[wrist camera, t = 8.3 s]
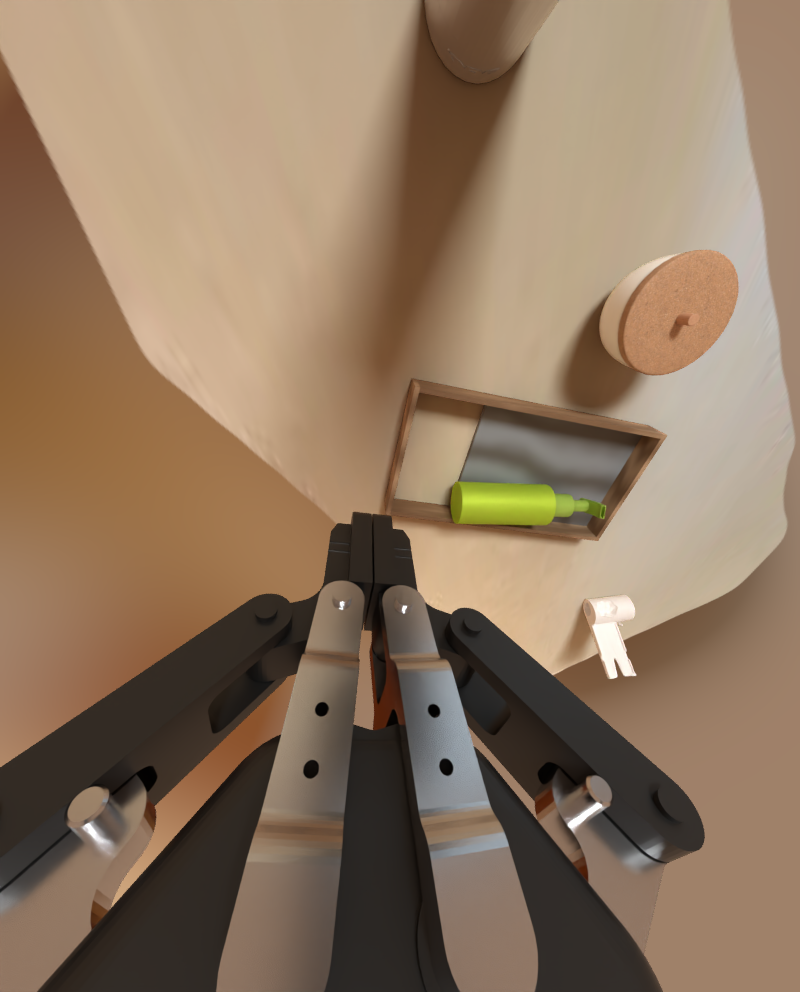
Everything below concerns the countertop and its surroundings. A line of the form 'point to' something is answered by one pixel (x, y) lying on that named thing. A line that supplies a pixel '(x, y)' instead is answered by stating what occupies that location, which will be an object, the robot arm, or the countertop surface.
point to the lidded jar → (669, 311)
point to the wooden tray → (538, 457)
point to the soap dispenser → (515, 504)
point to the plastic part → (610, 630)
